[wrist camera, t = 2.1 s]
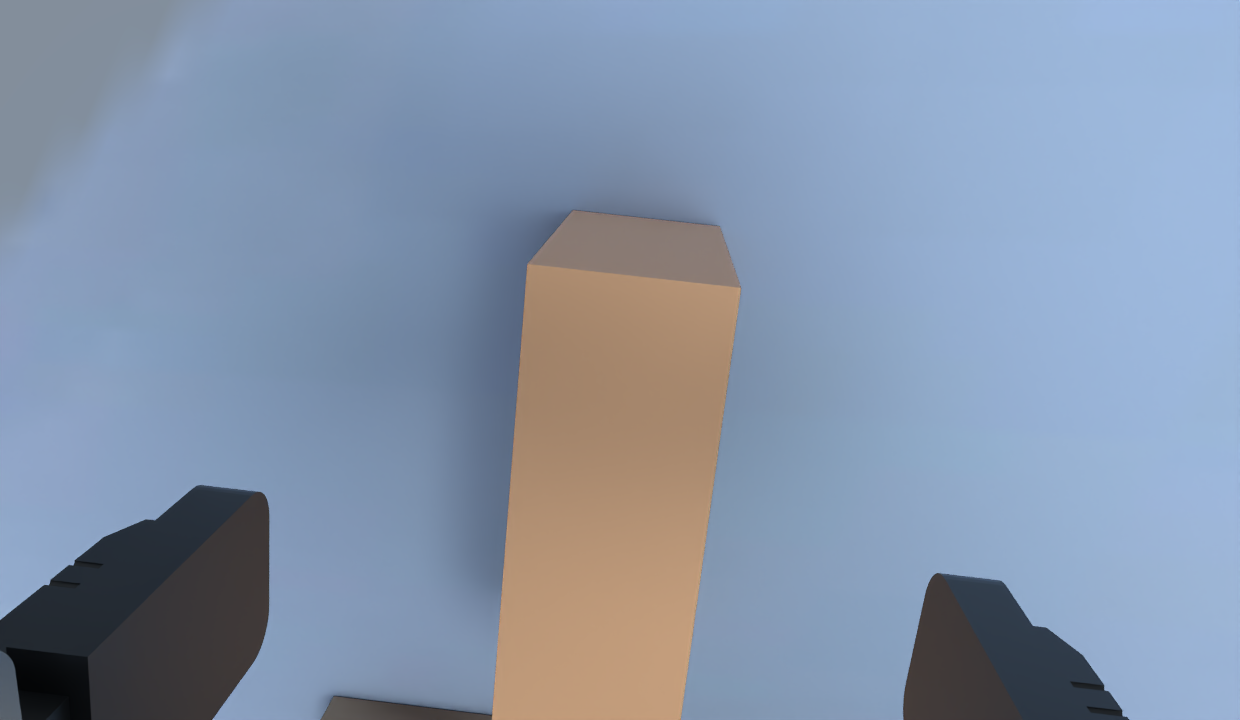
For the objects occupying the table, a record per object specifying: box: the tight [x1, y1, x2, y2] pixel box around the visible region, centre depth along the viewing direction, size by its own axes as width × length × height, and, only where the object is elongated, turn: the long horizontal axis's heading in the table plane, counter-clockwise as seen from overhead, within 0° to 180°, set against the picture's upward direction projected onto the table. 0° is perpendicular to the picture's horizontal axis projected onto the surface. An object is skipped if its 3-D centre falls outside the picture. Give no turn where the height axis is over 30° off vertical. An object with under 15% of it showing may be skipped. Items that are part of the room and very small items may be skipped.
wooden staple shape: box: [492, 210, 741, 720], centre depth 24 cm, size 12×4×8 cm, turn 174°
